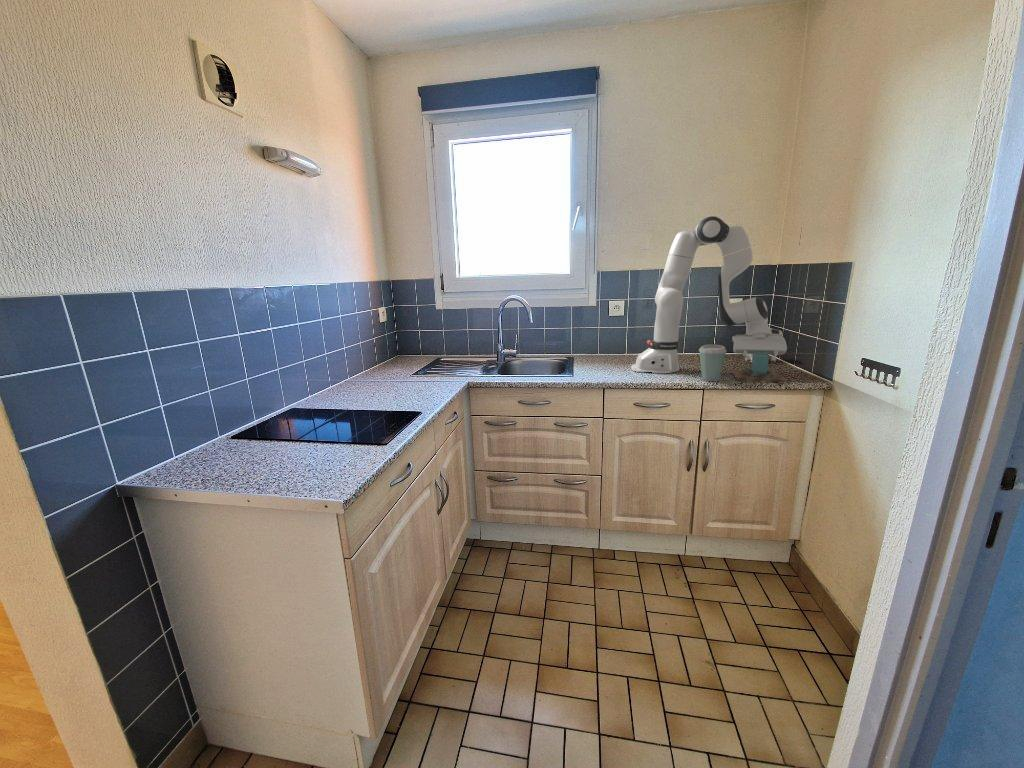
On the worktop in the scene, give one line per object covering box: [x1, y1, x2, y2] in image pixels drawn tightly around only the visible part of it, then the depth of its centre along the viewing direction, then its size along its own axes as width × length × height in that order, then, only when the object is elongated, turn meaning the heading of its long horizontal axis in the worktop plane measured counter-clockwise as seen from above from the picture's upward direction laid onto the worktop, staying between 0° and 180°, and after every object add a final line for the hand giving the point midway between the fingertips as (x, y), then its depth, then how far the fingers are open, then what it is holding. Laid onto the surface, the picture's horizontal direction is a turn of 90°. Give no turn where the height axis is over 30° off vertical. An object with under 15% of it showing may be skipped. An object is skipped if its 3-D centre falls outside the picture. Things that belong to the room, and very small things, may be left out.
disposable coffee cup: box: [698, 343, 727, 382], centre depth 176 cm, size 11×11×15 cm
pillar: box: [750, 354, 770, 374], centre depth 177 cm, size 5×5×9 cm
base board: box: [731, 368, 788, 383], centre depth 178 cm, size 18×13×3 cm
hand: (760, 361), depth 175 cm, fingers open, 8 cm apart
